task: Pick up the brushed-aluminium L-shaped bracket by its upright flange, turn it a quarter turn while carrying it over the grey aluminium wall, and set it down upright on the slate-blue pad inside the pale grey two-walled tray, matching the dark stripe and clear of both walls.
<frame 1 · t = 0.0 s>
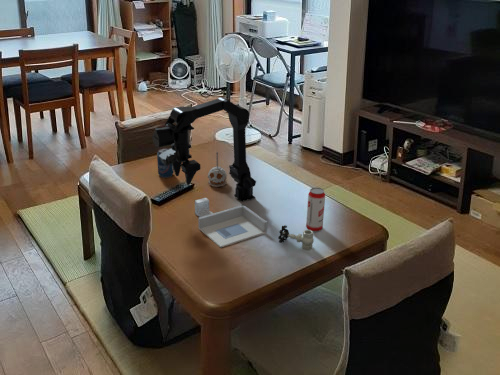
hand: (182, 180, 219), 15 cm above the table, fingers open, 9 cm apart
beer can: (314, 229, 217), on the table
valve: (296, 246, 206), on the table
bracket: (205, 216, 224), on the table
soda can: (166, 175, 259), on the table
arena: (232, 230, 215), on the table
decorative ornament: (217, 184, 251), on the table
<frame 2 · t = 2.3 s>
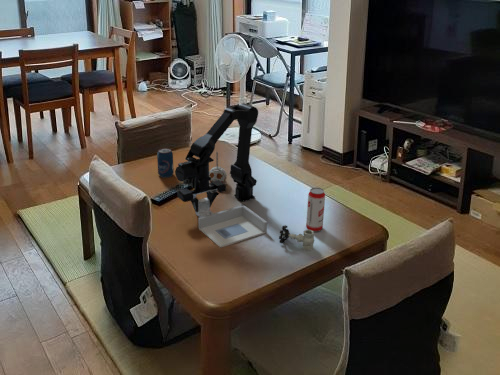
hand: (202, 210, 226), 2 cm above the table, fingers closed on bracket, 5 cm apart
bracket: (206, 216, 224), on the table, touching gripper
everything else where it was.
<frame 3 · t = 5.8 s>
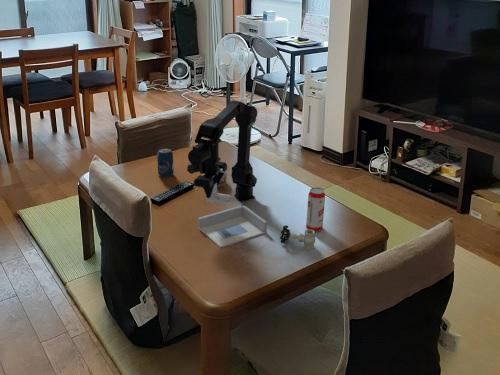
hand: (211, 194, 215), 12 cm above the table, fingers closed on bracket, 5 cm apart
bracket: (218, 199, 215), point 10 cm above the table, touching gripper
everything else where it was.
when the fingers open (3 cm above the table, at t = 9.1 s): bracket drops 1 cm, resting on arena.
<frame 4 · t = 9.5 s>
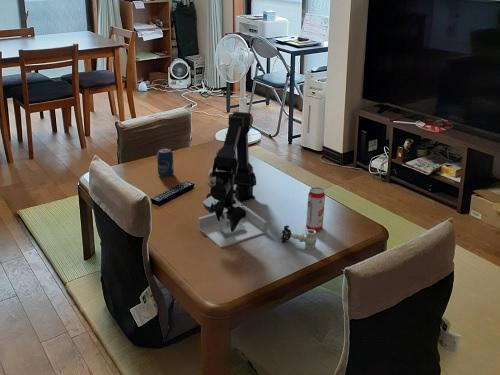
hand: (225, 226, 211), 3 cm above the table, fingers open, 9 cm apart
bracket: (232, 230, 213), point 1 cm above the table, touching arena
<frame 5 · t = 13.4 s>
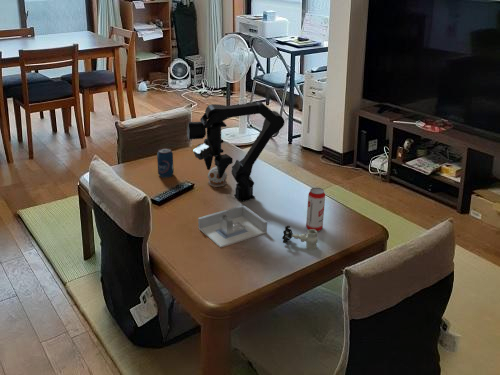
hand: (214, 173, 232), 12 cm above the table, fingers open, 9 cm apart
at the end: bracket 0.7 cm from the target spot on the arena, point 0.7 cm above the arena's base; bracket tilted 0°; the gripper is holding nothing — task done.
